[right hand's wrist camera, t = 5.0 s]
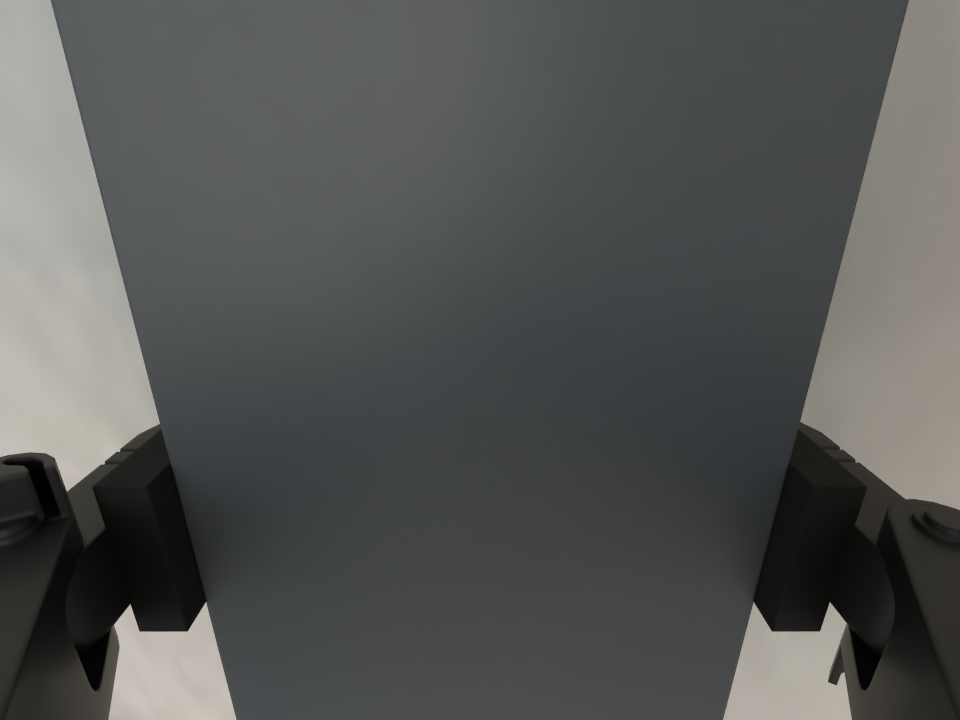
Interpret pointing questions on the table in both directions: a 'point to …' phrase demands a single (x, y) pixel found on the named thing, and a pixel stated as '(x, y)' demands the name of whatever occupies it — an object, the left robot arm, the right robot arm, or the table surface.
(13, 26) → the table surface
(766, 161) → the thick board
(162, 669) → the table surface
